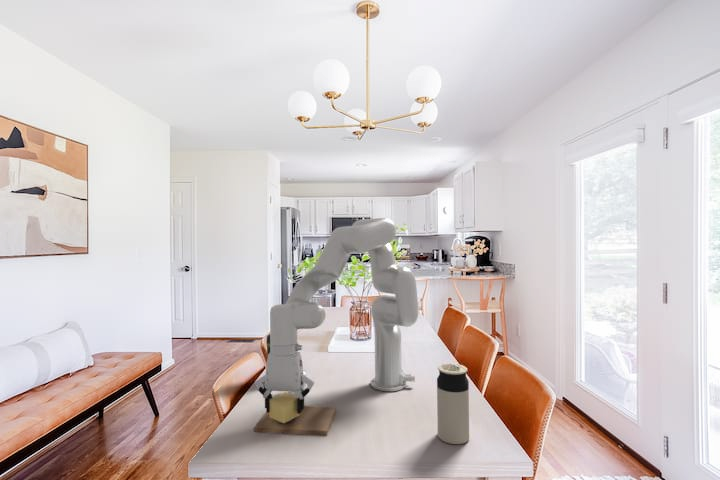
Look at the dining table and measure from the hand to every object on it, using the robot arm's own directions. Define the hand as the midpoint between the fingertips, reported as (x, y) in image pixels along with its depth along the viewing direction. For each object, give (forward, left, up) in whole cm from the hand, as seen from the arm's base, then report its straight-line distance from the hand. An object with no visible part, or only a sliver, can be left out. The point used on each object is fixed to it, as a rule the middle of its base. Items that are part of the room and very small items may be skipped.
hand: (284, 410), depth 105 cm
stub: (0, 0, -2) cm, 2 cm away
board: (-3, -2, -4) cm, 5 cm away
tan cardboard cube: (0, 0, -1) cm, 1 cm away
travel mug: (-46, +3, -4) cm, 46 cm away
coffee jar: (+12, -31, -4) cm, 33 cm away
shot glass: (+2, -21, -4) cm, 21 cm away
